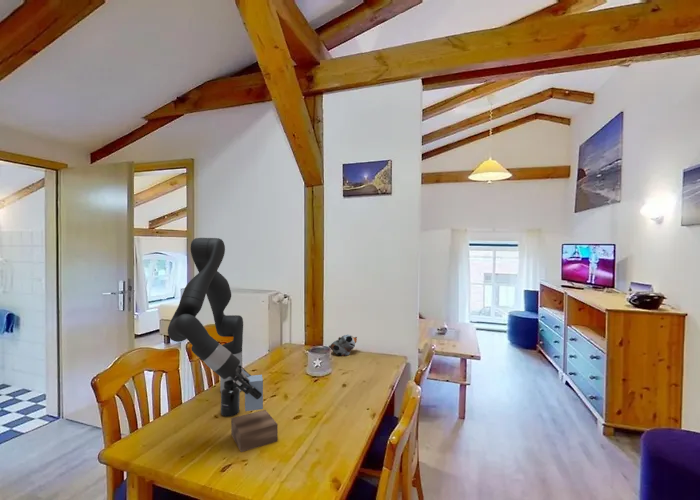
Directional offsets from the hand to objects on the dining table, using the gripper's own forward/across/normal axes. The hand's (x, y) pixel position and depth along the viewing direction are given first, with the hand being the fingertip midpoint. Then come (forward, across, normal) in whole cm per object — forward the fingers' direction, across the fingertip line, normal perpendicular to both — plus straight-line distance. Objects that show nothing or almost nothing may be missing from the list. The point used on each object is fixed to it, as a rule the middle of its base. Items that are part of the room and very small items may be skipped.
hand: (259, 393), depth 122 cm
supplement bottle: (+4, +21, +18) cm, 28 cm away
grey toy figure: (+48, +81, -27) cm, 98 cm away
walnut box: (+10, 0, +12) cm, 15 cm away
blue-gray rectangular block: (+2, 0, +4) cm, 5 cm away
